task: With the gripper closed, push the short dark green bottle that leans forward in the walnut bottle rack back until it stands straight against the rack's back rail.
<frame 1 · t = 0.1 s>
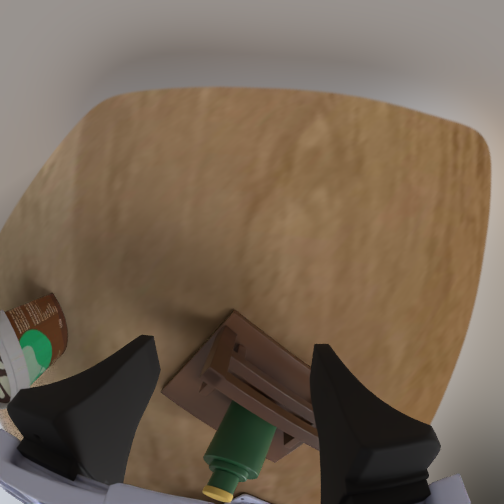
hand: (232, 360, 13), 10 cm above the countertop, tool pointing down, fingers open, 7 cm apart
rack: (257, 398, 25), on the countertop
food container: (52, 339, 25), on the countertop
bottle: (237, 452, 19), point 6 cm above the countertop, hinge at 25.0°
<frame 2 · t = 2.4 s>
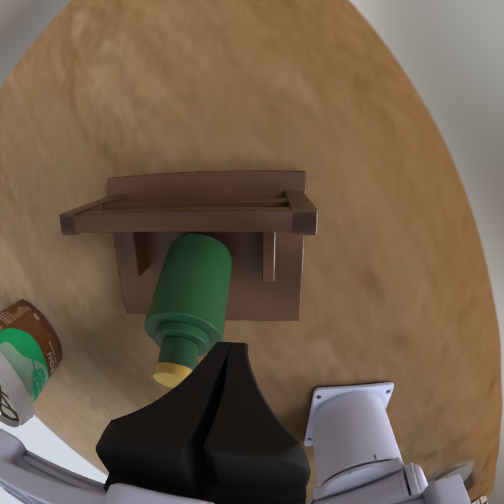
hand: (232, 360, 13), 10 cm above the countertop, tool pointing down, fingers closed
rack: (204, 248, 22), on the countertop
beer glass: (477, 499, 42), on the countertop
food container: (49, 341, 26), on the countertop
bottle: (187, 312, 17), point 6 cm above the countertop, hinge at 25.0°
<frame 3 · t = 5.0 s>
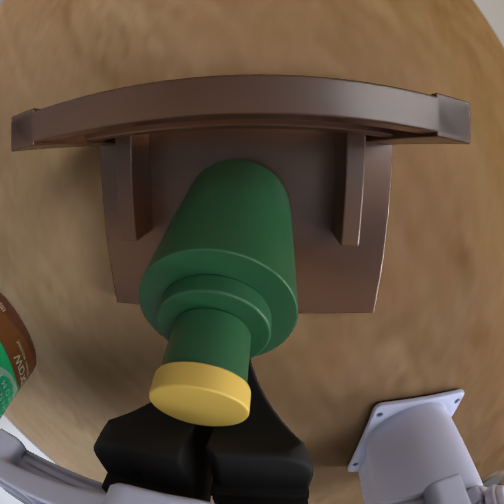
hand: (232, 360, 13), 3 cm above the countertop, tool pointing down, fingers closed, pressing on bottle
rack: (240, 200, 14), on the countertop
food container: (21, 340, 19), on the countertop
bottle: (223, 276, 9), point 5 cm above the countertop, hinge at 18.2°, touching gripper
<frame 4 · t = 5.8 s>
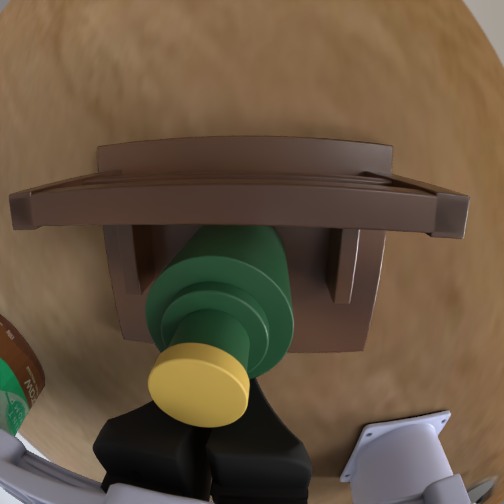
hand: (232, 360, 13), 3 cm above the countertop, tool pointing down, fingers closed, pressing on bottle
rack: (239, 252, 15), on the countertop
food container: (29, 363, 19), on the countertop
bottle: (224, 301, 10), point 5 cm above the countertop, hinge at -0.1°, touching gripper, rack
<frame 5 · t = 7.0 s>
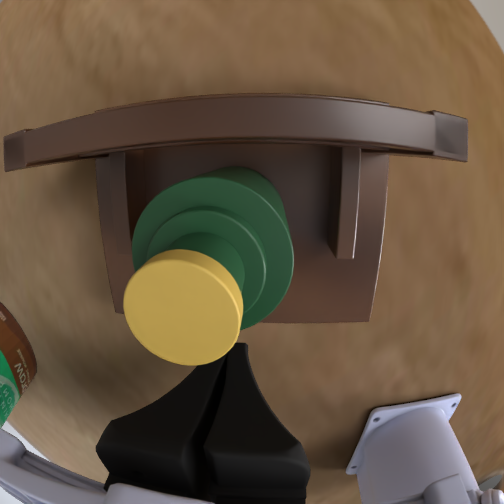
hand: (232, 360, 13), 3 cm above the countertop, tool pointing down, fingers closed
rack: (236, 212, 14), on the countertop
food container: (21, 348, 19), on the countertop
bottle: (218, 244, 9), point 5 cm above the countertop, hinge at 0.0°, touching rack
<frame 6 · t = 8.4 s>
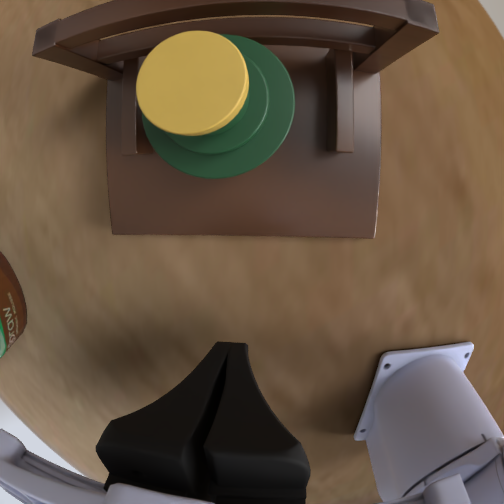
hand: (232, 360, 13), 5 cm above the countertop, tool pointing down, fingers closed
rack: (238, 124, 14), on the countertop
food container: (12, 298, 18), on the countertop
bottle: (223, 109, 9), point 5 cm above the countertop, hinge at 0.0°, touching rack
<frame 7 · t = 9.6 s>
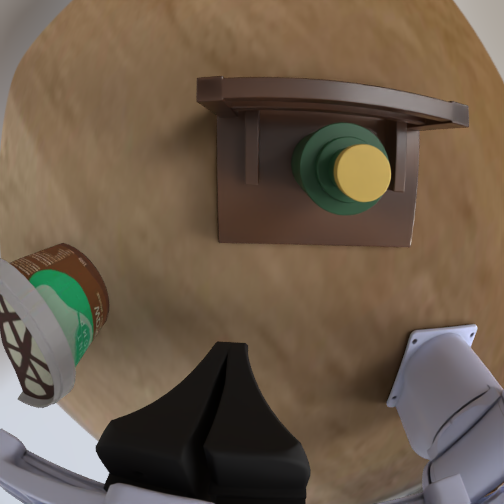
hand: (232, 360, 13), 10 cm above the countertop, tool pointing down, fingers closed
rack: (322, 164, 19), on the countertop
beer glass: (503, 483, 40), on the countertop
food container: (92, 297, 24), on the countertop
bottle: (339, 167, 14), point 5 cm above the countertop, hinge at 0.0°, touching rack
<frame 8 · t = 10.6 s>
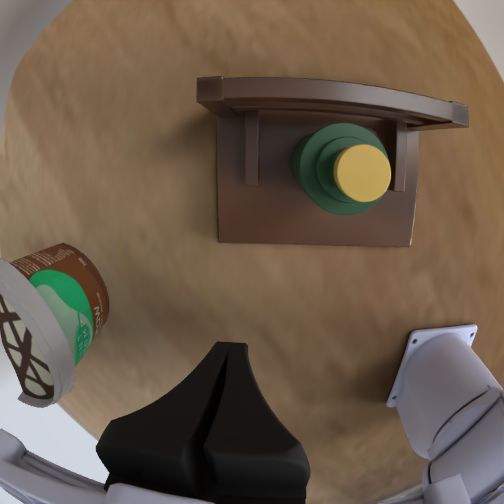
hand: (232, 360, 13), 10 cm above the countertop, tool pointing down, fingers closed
rack: (322, 164, 19), on the countertop
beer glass: (503, 483, 40), on the countertop
food container: (92, 297, 24), on the countertop
bottle: (339, 167, 14), point 5 cm above the countertop, hinge at 0.0°, touching rack
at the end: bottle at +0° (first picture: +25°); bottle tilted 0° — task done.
